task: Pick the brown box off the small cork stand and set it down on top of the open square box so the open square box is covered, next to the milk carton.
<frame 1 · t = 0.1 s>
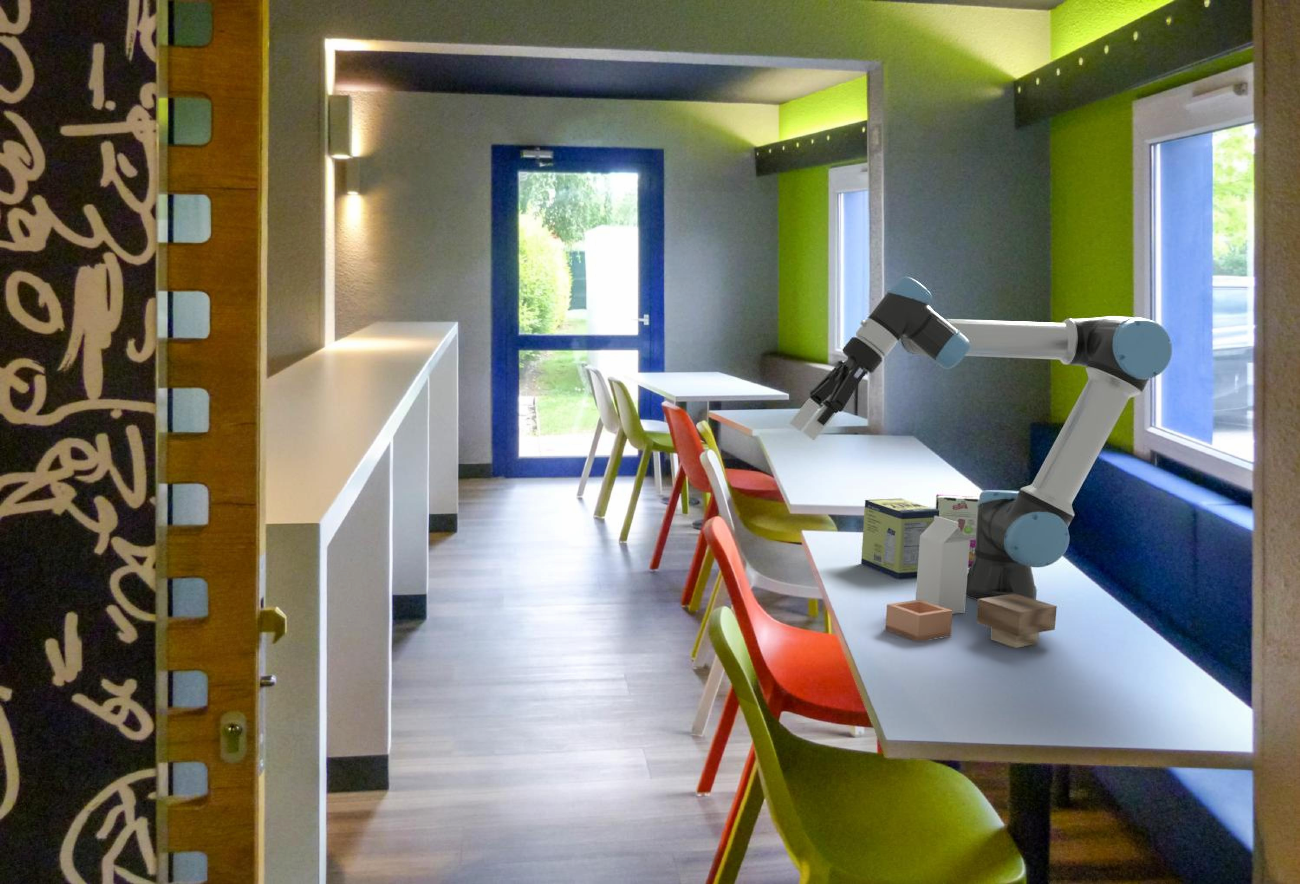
hand: (801, 431, 242), 36 cm above the table, tool tilted 35°, fingers open, 13 cm apart
brown box: (1015, 625, 230), point 3 cm above the table, touching stand
protein box: (897, 571, 284), on the table
milk carton: (939, 611, 250), on the table
candy bar box: (955, 564, 293), on the table
open square box: (917, 632, 233), on the table
stand: (1014, 641, 230), on the table
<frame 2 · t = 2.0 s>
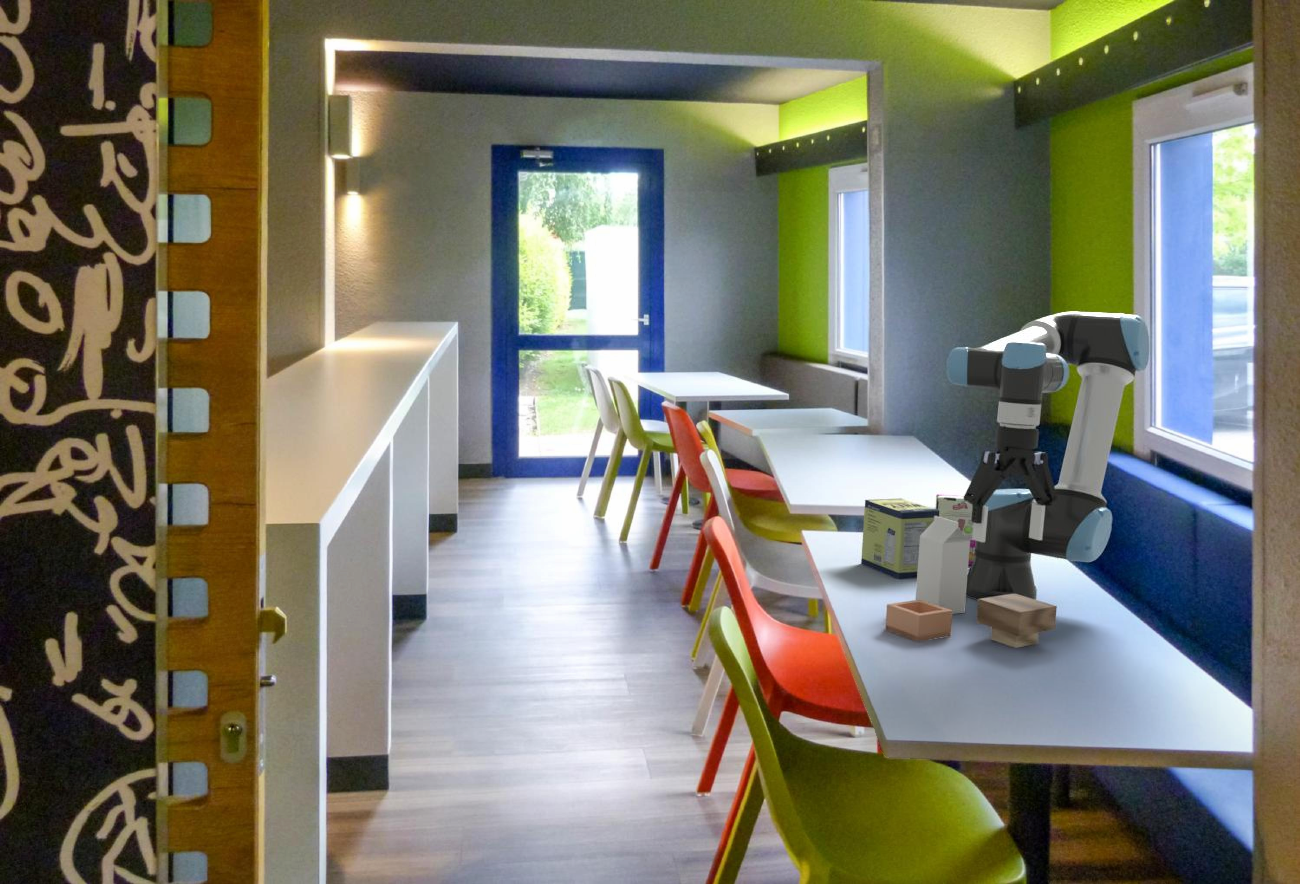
hand: (1007, 540, 227), 19 cm above the table, tool pointing down, fingers open, 13 cm apart
nothing on the table moved.
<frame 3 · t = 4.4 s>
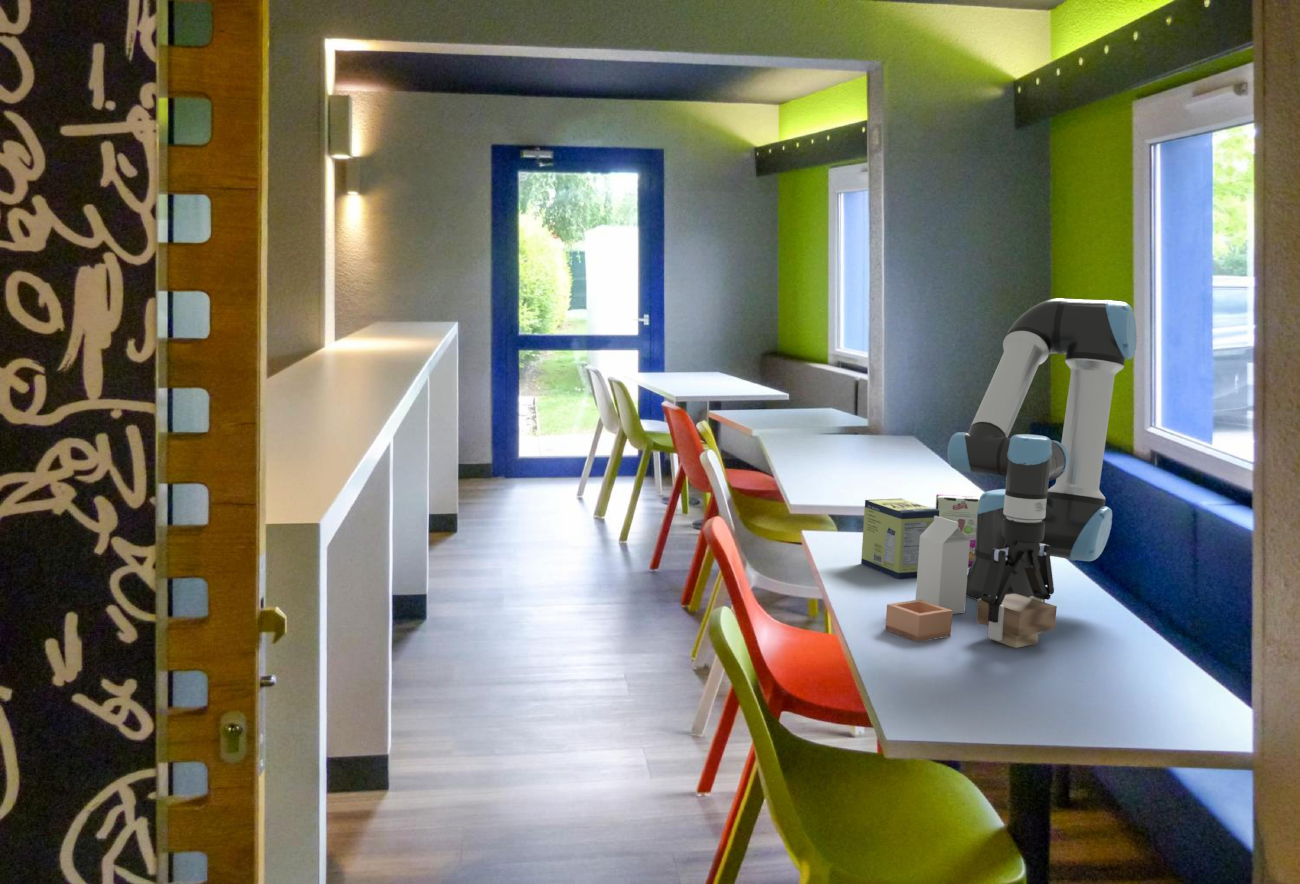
hand: (1014, 634, 230), 1 cm above the table, tool pointing down, fingers closed on brown box, 10 cm apart
brown box: (1015, 625, 230), point 3 cm above the table, touching gripper, stand
everything else where it was.
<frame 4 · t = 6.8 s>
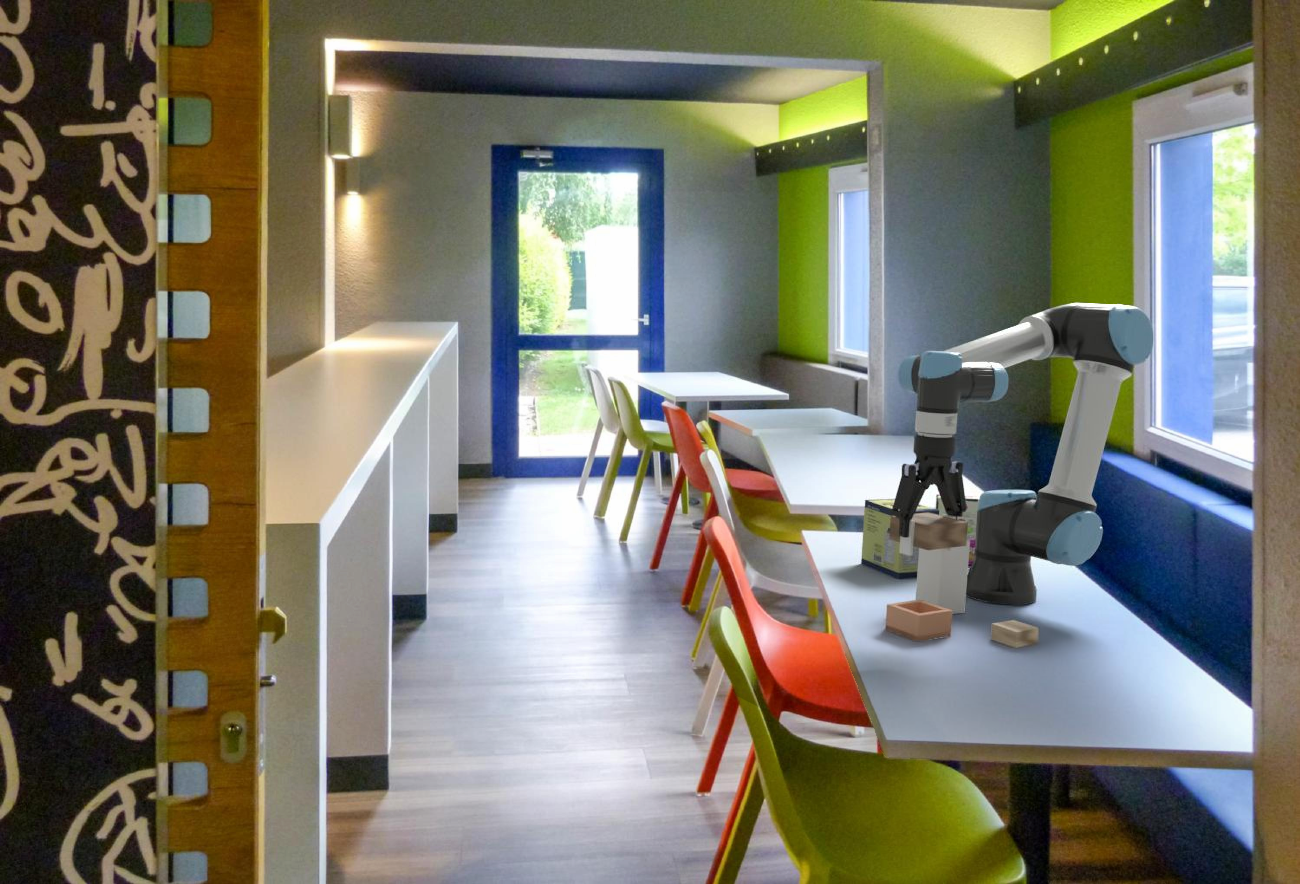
hand: (926, 551, 231), 16 cm above the table, tool pointing down, fingers closed on brown box, 10 cm apart
brown box: (927, 542, 231), point 18 cm above the table, touching gripper
everything else where it was.
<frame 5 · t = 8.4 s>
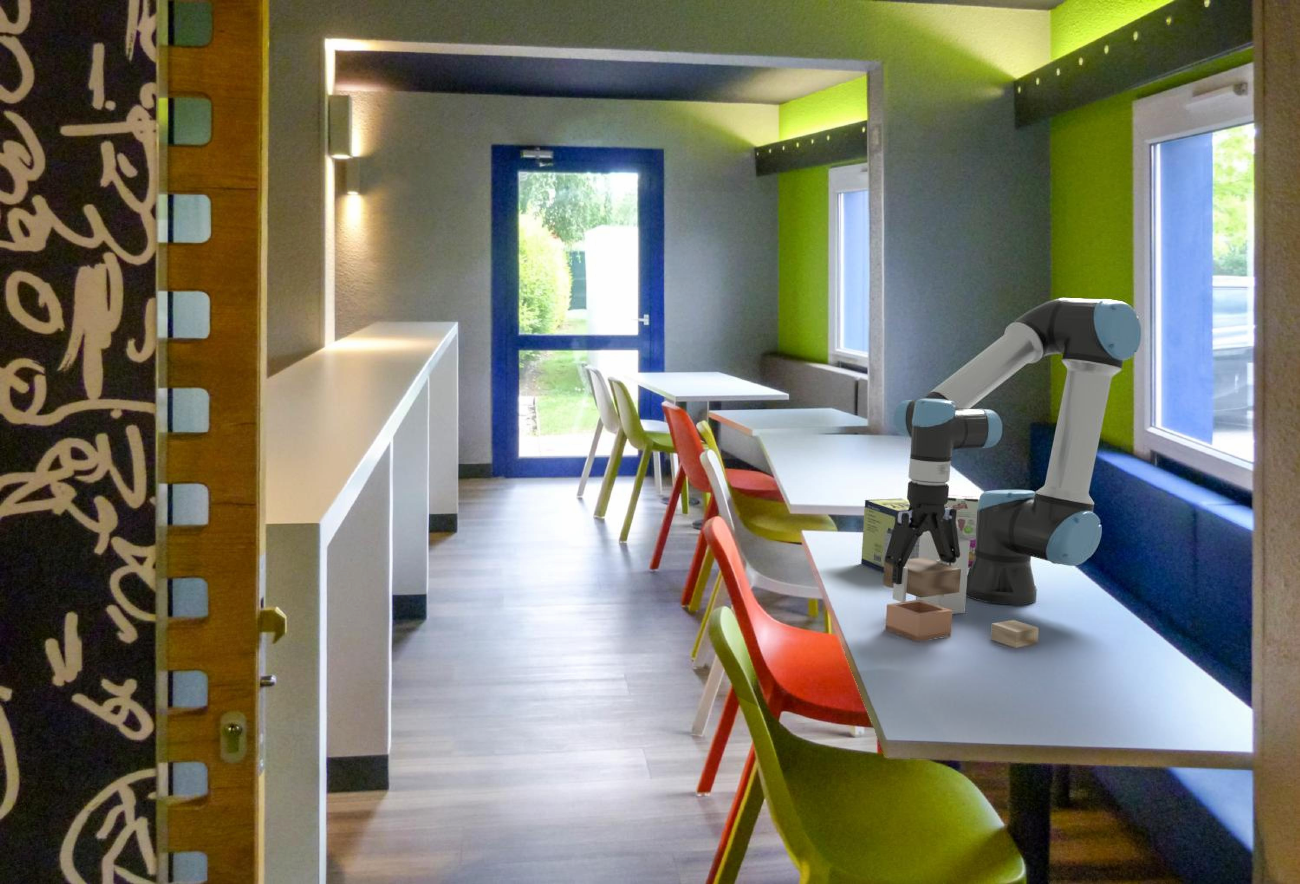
hand: (919, 597, 232), 7 cm above the table, tool pointing down, fingers closed on brown box, 10 cm apart
brown box: (920, 588, 232), point 9 cm above the table, touching gripper
everything else where it was.
when the fingers open (5 cm above the table, at t = 9.3 s): brown box drops 2 cm, resting on open square box.
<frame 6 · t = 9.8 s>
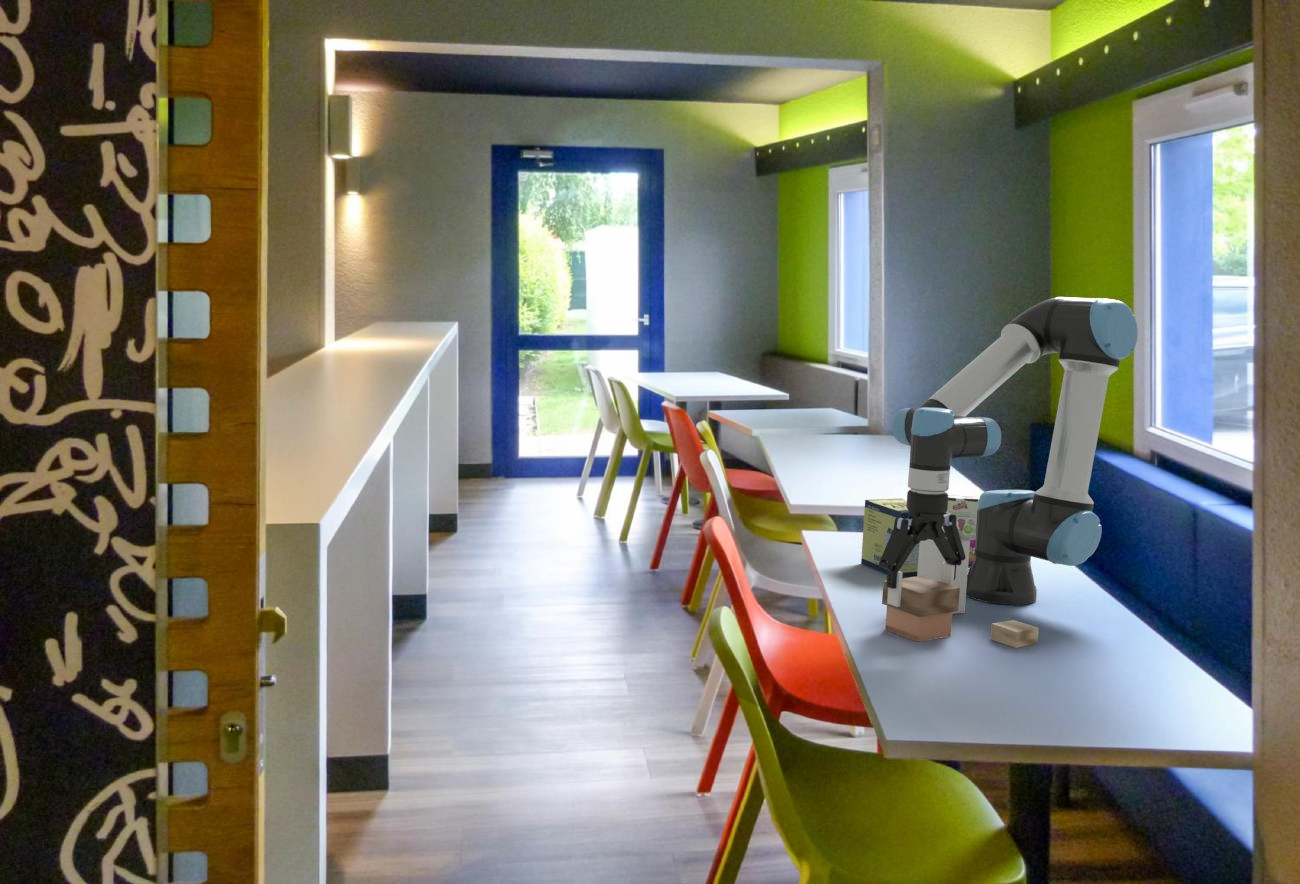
hand: (920, 601, 232), 6 cm above the table, tool pointing down, fingers open, 13 cm apart
brown box: (919, 607, 233), point 5 cm above the table, touching open square box
everything else where it was.
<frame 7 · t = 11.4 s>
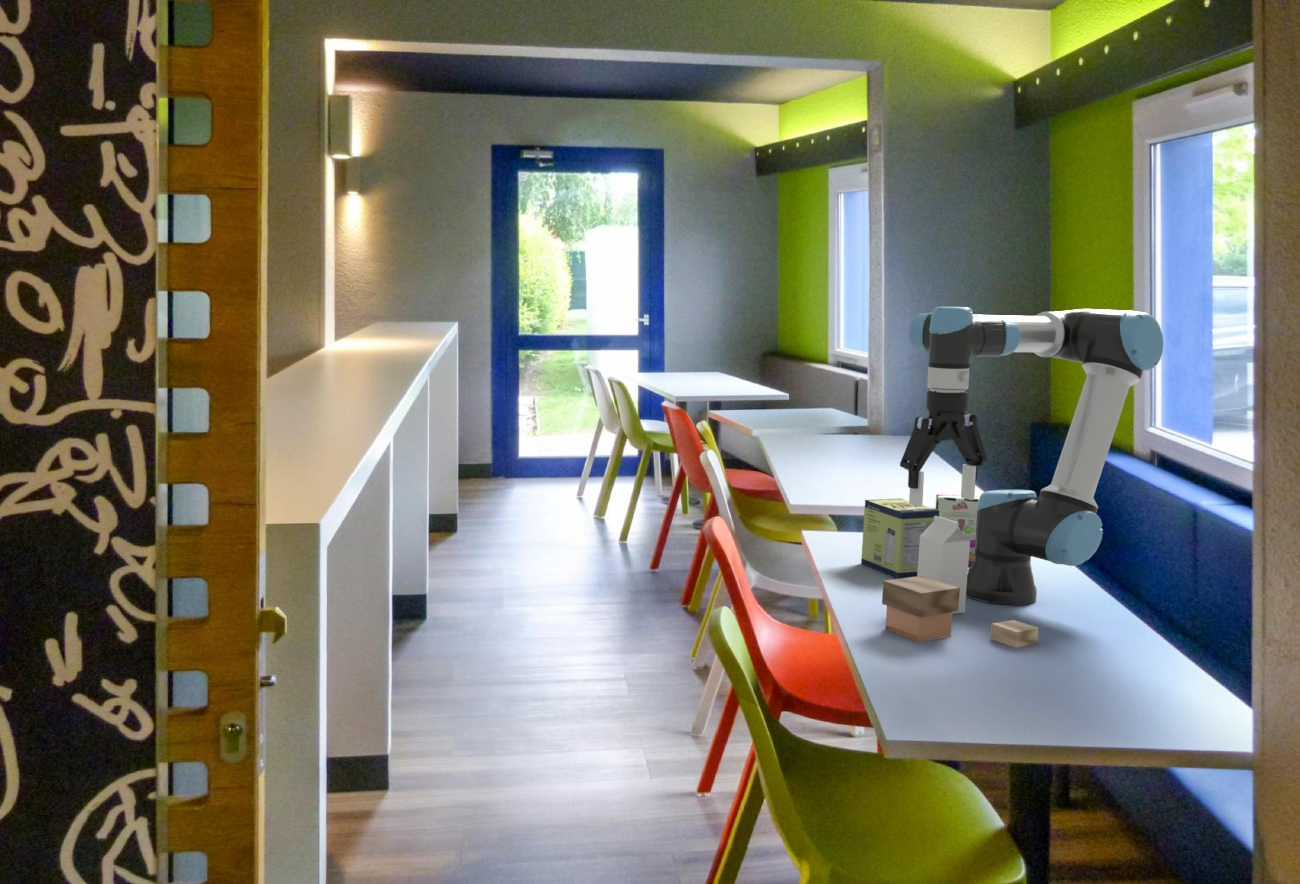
hand: (941, 502, 232), 25 cm above the table, tool pointing down, fingers open, 13 cm apart
nothing on the table moved.
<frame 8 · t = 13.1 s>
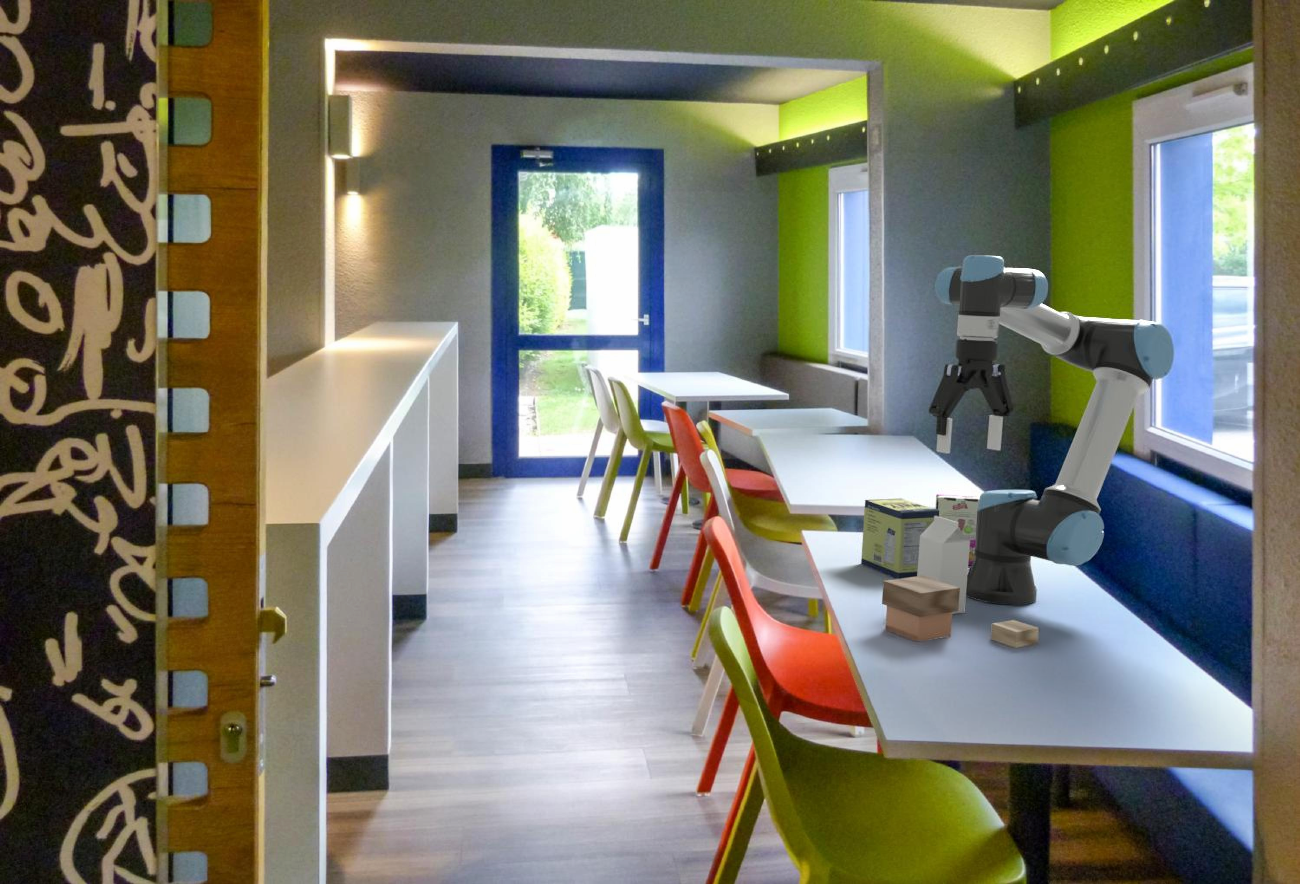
hand: (968, 451, 233), 35 cm above the table, tool pointing down, fingers open, 13 cm apart
nothing on the table moved.
at the end: brown box 0.0 cm off-centre on the open square box, point 5.0 cm above the open square box's base; brown box touching open square box; the gripper is holding nothing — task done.
